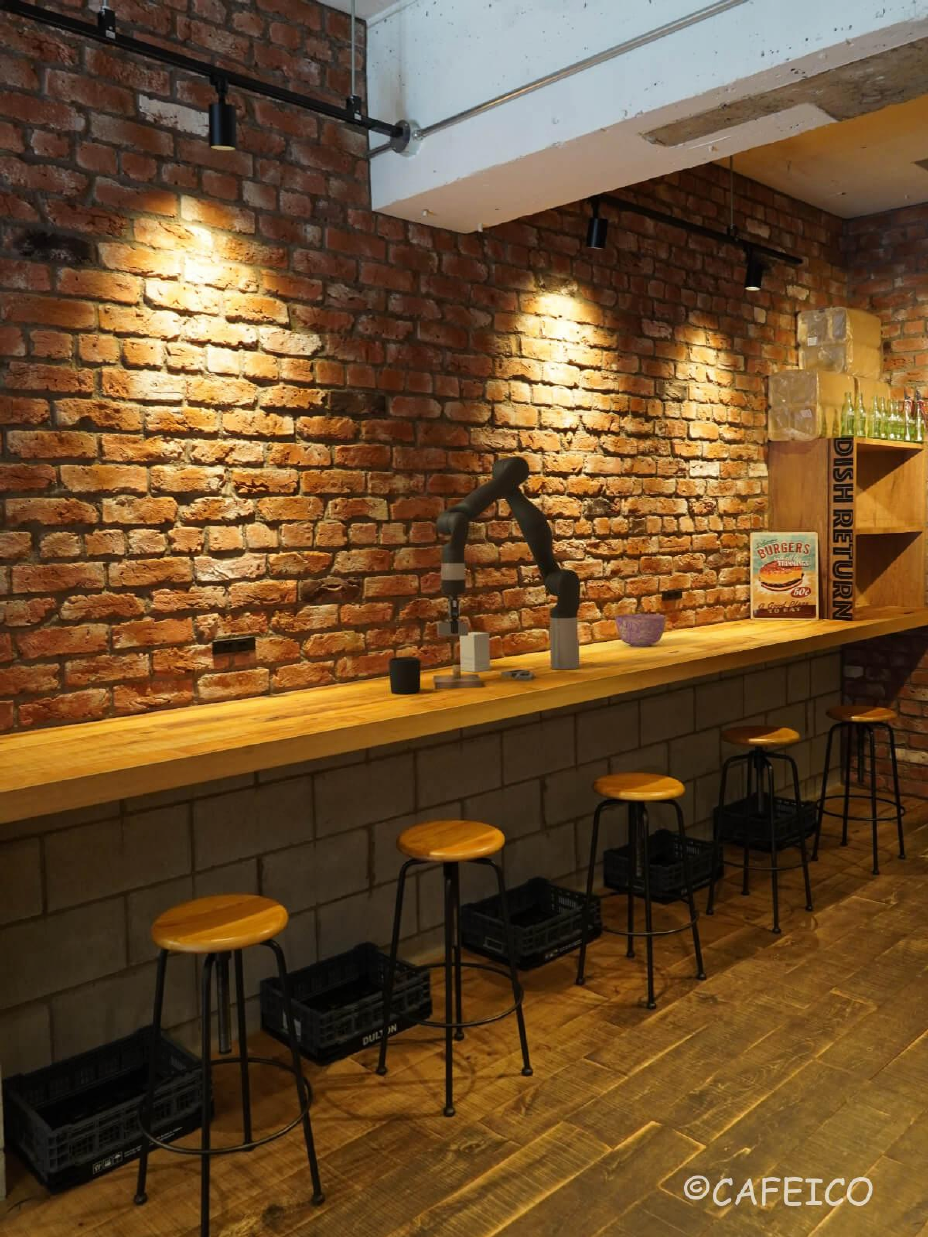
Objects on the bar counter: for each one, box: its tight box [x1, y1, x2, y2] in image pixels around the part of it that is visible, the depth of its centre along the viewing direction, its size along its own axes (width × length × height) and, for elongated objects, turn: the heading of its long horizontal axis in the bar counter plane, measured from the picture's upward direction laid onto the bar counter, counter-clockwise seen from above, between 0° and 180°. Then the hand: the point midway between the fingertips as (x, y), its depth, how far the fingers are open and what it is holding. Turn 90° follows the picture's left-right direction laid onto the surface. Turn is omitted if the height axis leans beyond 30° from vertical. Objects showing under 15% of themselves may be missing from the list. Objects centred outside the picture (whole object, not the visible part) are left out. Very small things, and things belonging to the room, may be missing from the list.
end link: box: [436, 620, 469, 637], centre depth 321 cm, size 9×6×4 cm, turn 95°
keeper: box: [432, 664, 483, 690], centre depth 322 cm, size 14×14×6 cm
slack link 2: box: [514, 672, 535, 681], centre depth 331 cm, size 8×5×1 cm, turn 169°
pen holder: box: [388, 656, 421, 695], centre depth 310 cm, size 9×9×10 cm
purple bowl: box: [614, 613, 667, 648], centre depth 408 cm, size 20×20×12 cm
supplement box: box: [459, 631, 491, 673], centre depth 352 cm, size 7×7×13 cm
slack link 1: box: [500, 668, 531, 678], centre depth 339 cm, size 8×5×1 cm, turn 129°
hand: (454, 632), depth 321 cm, fingers closed on end link, 6 cm apart
